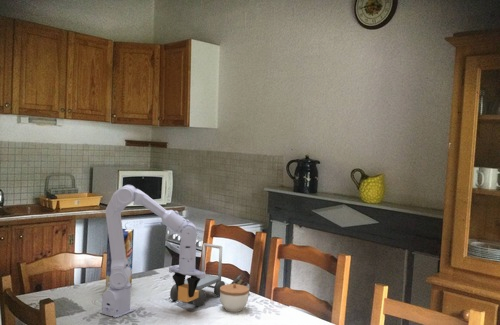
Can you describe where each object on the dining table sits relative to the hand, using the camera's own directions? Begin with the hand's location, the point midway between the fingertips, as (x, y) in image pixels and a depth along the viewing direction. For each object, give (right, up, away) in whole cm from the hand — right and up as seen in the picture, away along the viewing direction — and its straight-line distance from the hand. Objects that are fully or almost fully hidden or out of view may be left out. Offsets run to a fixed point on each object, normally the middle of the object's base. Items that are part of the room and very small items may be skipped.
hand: (185, 295), depth 167 cm
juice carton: (-29, -4, +20) cm, 35 cm away
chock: (+1, -2, +1) cm, 2 cm away
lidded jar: (+17, -7, +6) cm, 19 cm away
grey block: (+18, -7, +23) cm, 29 cm away
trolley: (+3, -6, +17) cm, 18 cm away
